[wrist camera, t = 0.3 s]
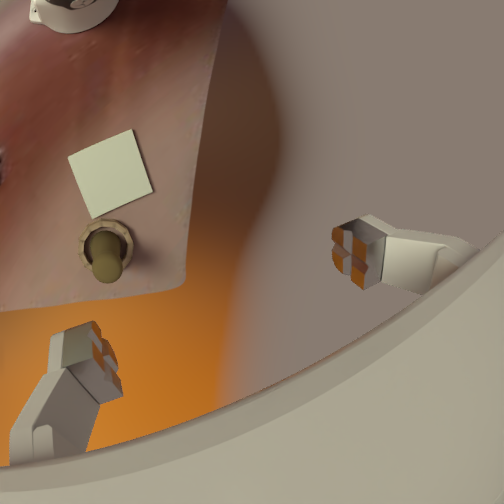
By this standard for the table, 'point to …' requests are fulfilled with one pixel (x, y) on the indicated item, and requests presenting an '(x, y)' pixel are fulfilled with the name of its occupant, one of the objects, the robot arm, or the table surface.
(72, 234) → the table surface
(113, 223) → the ring
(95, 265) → the cork
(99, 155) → the ceramic tile
